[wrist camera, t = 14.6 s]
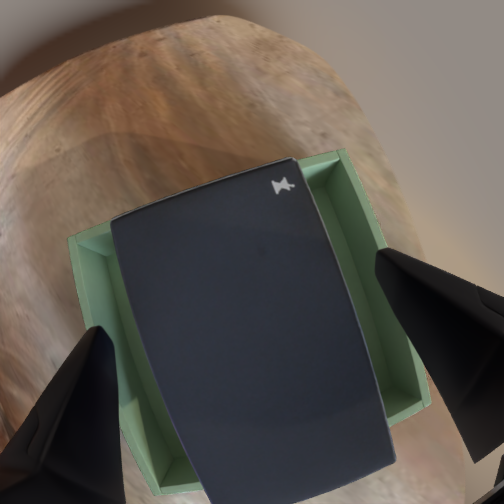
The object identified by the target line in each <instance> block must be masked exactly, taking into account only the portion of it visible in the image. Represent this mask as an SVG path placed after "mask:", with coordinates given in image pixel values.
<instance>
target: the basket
mask: <svg viewBox="0 0 504 504" xmlns="http://www.w3.org/2000/svg"><path fill="white" fill-rule="evenodd" d="M297 161H298V163H299V165H300V167H301V169H302V172H303V174H304V177H305V179H306V181H307V184H308V186H309V188H310V191H311V193H312V195H313V197H314V200H315V203H316V205H317V207H318V210H319V212H320V215H321V217H322V219H323V222H324V224H325V227H326V229H327V232H328V235H329V238H330V240H331V243H332V246H333V248H334V251H335V253H336V256H337V259H338V261H339V264H340V267H341V270H342V273H343V276H344V279H345V282H346V285H347V287H348V289H349V292H350V295H351V298H352V301H353V304H354V307H355V310H356V313H357V316H358V319H359V322H360V325H361V328H362V331H363V334H364V338H365V341H366V344H367V347H368V351H369V355H370V358H371V362H372V365H373V368H374V372H375V375H376V378H377V382H378V386H379V390H380V394H381V397H382V401H383V404H384V408H385V412H386V416H387V420H388V424H389V427H390V426H392V425H394V424H396V423H398V422H400V421H402V420H404V419H405V418H407V417H409V416H411V415H413V414H414V413H416V412H418V411H420V410H421V409H423V408H425V407H426V406H428V405H430V404H431V398H430V393H429V388H428V383H427V379H426V374H425V370H424V365H423V362H422V360H421V358H420V357H419V355H418V353H417V352H416V350H415V348H414V346H413V345H412V343H411V341H410V340H409V338H408V336H407V335H406V333H405V331H404V330H403V328H402V326H401V325H400V323H399V321H398V320H397V318H396V316H395V315H394V313H393V311H392V309H391V307H390V305H389V303H388V301H387V299H386V297H385V295H384V293H383V290H382V288H381V286H380V284H379V282H378V280H377V278H376V276H375V272H374V269H375V256H376V252H377V251H378V250H380V249H383V248H387V244H386V242H385V239H384V236H383V234H382V231H381V229H380V226H379V224H378V221H377V219H376V216H375V214H374V211H373V209H372V206H371V204H370V202H369V199H368V197H367V195H366V192H365V190H364V188H363V186H362V183H361V181H360V179H359V177H358V175H357V172H356V170H355V168H354V166H353V164H352V162H351V160H350V157H349V155H348V153H347V151H346V149H345V148H344V149H340V150H336V151H331V152H327V153H323V154H319V155H315V156H311V157H307V158H303V159H299V160H297ZM110 221H111V220H110ZM110 221H107V222H104V223H102V224H99V225H97V226H94V227H92V228H89V229H87V230H84V231H82V232H80V233H77V234H76V235H72V236H70V237H68V238H67V241H68V248H69V254H70V259H71V265H72V270H73V275H74V280H75V285H76V290H77V294H78V299H79V303H80V307H81V311H82V315H83V319H84V323H85V327H86V331H87V330H88V329H89V328H90V327H93V326H97V325H100V326H102V327H103V328H104V329H105V331H106V332H107V334H108V335H109V337H110V338H111V339H112V341H113V343H114V346H115V356H116V367H117V378H118V389H119V426H120V428H121V430H122V433H123V435H124V437H125V439H126V442H127V444H128V446H129V448H130V450H131V452H132V454H133V457H134V459H135V461H136V463H137V465H138V467H139V469H140V471H141V473H142V474H143V476H144V478H145V480H146V482H147V484H148V486H149V488H150V489H151V491H152V493H153V495H154V496H157V495H168V494H176V493H183V492H190V491H197V490H203V487H202V485H201V483H200V481H199V479H198V477H197V475H196V473H195V471H194V469H193V467H192V465H191V463H190V461H189V459H188V457H187V454H186V452H185V450H184V448H183V446H182V444H181V442H180V439H179V437H178V435H177V433H176V430H175V428H174V426H173V423H172V421H171V419H170V416H169V414H168V412H167V409H166V406H165V404H164V401H163V399H162V396H161V394H160V391H159V389H158V386H157V384H156V381H155V378H154V376H153V373H152V370H151V368H150V365H149V362H148V359H147V356H146V354H145V351H144V348H143V345H142V342H141V339H140V336H139V333H138V330H137V326H136V323H135V320H134V317H133V314H132V310H131V307H130V303H129V300H128V297H127V293H126V289H125V286H124V282H123V279H122V275H121V271H120V267H119V263H118V259H117V255H116V251H115V246H114V242H113V237H112V233H111V229H110Z"/></svg>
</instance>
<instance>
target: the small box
mask: <svg viewBox="0 0 504 504" xmlns="http://www.w3.org/2000/svg"><path fill="white" fill-rule="evenodd" d="M110 229H111V233H112V237H113V242H114V246H115V251H116V255H117V259H118V263H119V267H120V271H121V275H122V279H123V282H124V286H125V289H126V293H127V297H128V300H129V303H130V307H131V310H132V314H133V317H134V320H135V323H136V326H137V330H138V333H139V336H140V339H141V342H142V345H143V348H144V351H145V354H146V356H147V359H148V362H149V365H150V368H151V370H152V373H153V376H154V378H155V381H156V384H157V386H158V389H159V391H160V394H161V396H162V399H163V401H164V404H165V406H166V409H167V412H168V414H169V416H170V419H171V421H172V423H173V426H174V428H175V430H176V433H177V435H178V437H179V439H180V442H181V444H182V446H183V448H184V450H185V452H186V454H187V457H188V459H189V461H190V463H191V465H192V467H193V469H194V471H195V473H196V475H197V477H198V479H199V481H200V483H201V485H202V487H203V489H204V491H205V493H206V494H207V496H208V498H209V500H210V502H211V504H294V503H296V502H300V501H304V500H307V499H309V498H312V497H315V496H318V495H321V494H323V493H326V492H329V491H332V490H334V489H337V488H340V487H342V486H345V485H347V484H349V483H352V482H354V481H357V480H359V479H361V478H363V477H365V476H367V475H370V474H372V473H374V472H376V471H378V470H380V469H382V468H384V467H386V466H388V465H391V464H393V463H394V462H396V454H395V451H394V446H393V441H392V437H391V433H390V428H389V424H388V420H387V416H386V412H385V408H384V404H383V401H382V397H381V394H380V390H379V386H378V382H377V378H376V375H375V372H374V368H373V365H372V362H371V358H370V355H369V351H368V347H367V344H366V341H365V338H364V334H363V331H362V328H361V325H360V322H359V319H358V316H357V313H356V310H355V307H354V304H353V301H352V298H351V295H350V292H349V289H348V287H347V285H346V282H345V279H344V276H343V273H342V270H341V267H340V264H339V261H338V259H337V256H336V253H335V251H334V248H333V246H332V243H331V240H330V238H329V235H328V232H327V229H326V227H325V224H324V222H323V219H322V217H321V215H320V212H319V210H318V207H317V205H316V203H315V200H314V197H313V195H312V193H311V191H310V188H309V186H308V184H307V181H306V179H305V177H304V174H303V172H302V169H301V167H300V165H299V163H298V161H297V160H296V159H295V158H293V157H285V158H283V159H280V160H276V161H273V162H270V163H267V164H264V165H261V166H258V167H255V168H251V169H247V170H244V171H241V172H238V173H234V174H231V175H228V176H225V177H222V178H219V179H216V180H213V181H210V182H208V183H205V184H202V185H199V186H196V187H193V188H189V189H186V190H184V191H182V192H178V193H175V194H173V195H170V196H166V197H164V198H162V199H159V200H157V201H154V202H151V203H149V204H146V205H143V206H140V207H138V208H136V209H134V210H131V211H128V212H125V213H123V214H121V215H118V216H116V217H114V218H112V220H111V221H110Z"/></svg>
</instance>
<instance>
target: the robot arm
mask: <svg viewBox="0 0 504 504" xmlns="http://www.w3.org/2000/svg"><path fill="white" fill-rule="evenodd" d="M374 272H375V276H376V278H377V280H378V282H379V284H380V286H381V288H382V290H383V293H384V295H385V297H386V299H387V301H388V303H389V305H390V307H391V309H392V311H393V313H394V315H395V316H396V318H397V320H398V321H399V323H400V325H401V326H402V328H403V330H404V331H405V333H406V335H407V336H408V338H409V340H410V341H411V343H412V345H413V346H414V348H415V350H416V352H417V353H418V355H419V357H420V358H421V360H422V362H423V364H424V365H425V367H426V369H427V371H428V373H429V374H430V376H431V378H432V380H433V382H434V384H435V385H436V387H437V389H438V391H439V393H440V395H441V397H442V398H443V400H444V402H445V404H446V406H447V408H448V410H449V412H450V413H451V416H452V418H453V420H454V422H455V424H456V426H457V428H458V430H459V432H460V435H461V437H462V439H463V441H464V443H465V445H466V447H467V449H468V451H469V454H470V456H471V458H472V460H473V462H474V463H476V462H478V461H480V460H481V459H482V458H484V457H485V456H487V455H488V454H489V453H491V452H492V451H493V450H495V449H496V448H497V447H499V446H500V445H501V444H502V443H504V297H502V296H500V295H497V294H495V293H493V292H491V291H488V290H486V289H484V288H482V287H479V286H476V285H475V284H473V283H471V282H468V281H466V280H464V279H461V278H460V277H457V276H455V275H453V274H451V273H448V272H446V271H444V270H441V269H439V268H437V267H434V266H432V265H429V264H427V263H425V262H423V261H420V260H418V259H416V258H413V257H411V256H408V255H406V254H403V253H401V252H399V251H396V250H394V249H391V248H388V247H387V248H383V249H380V250H378V251H377V252H376V256H375V269H374ZM125 503H126V499H125V491H124V482H123V472H122V461H121V447H120V428H119V389H118V378H117V367H116V356H115V346H114V343H113V341H112V339H111V338H110V337H109V335H108V334H107V332H106V331H105V329H104V328H103V327H102V326H100V325H97V326H93V327H90V328H89V329H88V330H87V331H86V333H85V334H84V335H83V337H82V338H81V339H80V341H79V342H78V343H77V345H76V346H75V347H74V349H73V350H72V351H71V353H70V354H69V356H68V357H67V358H66V360H65V361H64V363H63V364H62V365H61V367H60V368H59V370H58V371H57V373H56V374H55V375H54V377H53V378H52V380H51V381H50V383H49V384H48V386H47V387H46V389H45V390H44V392H43V393H42V395H41V396H40V398H39V399H38V401H37V402H36V404H35V406H34V407H33V408H32V410H31V411H30V413H29V414H28V416H27V417H26V419H25V420H24V422H23V424H22V425H21V426H20V428H19V429H18V431H17V432H16V433H15V435H14V436H13V438H12V439H11V440H10V442H9V443H8V445H7V446H6V447H5V449H4V450H3V452H2V453H1V454H0V504H125ZM473 504H504V454H503V455H502V457H501V461H500V465H499V469H498V473H497V477H496V480H495V484H494V488H493V489H492V490H491V491H489V492H488V493H487V494H485V495H484V496H482V497H481V498H480V499H478V500H477V501H476V502H474V503H473Z"/></svg>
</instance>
